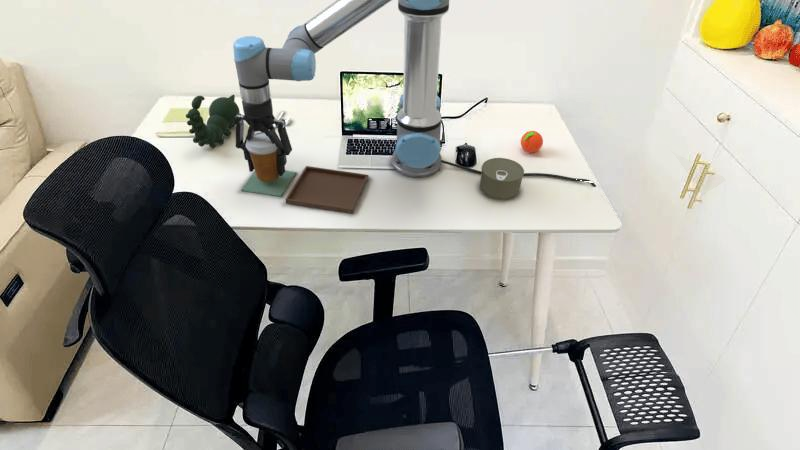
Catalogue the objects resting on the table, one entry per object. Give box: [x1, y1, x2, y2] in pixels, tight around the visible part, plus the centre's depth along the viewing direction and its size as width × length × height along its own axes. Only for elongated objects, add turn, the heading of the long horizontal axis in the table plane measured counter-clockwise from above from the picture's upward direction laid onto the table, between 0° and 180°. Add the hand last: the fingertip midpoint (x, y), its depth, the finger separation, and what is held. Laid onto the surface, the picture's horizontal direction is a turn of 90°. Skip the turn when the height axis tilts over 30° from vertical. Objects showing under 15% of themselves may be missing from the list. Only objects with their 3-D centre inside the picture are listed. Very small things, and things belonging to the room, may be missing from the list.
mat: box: [240, 170, 297, 198], centre depth 157 cm, size 12×12×1 cm
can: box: [479, 157, 525, 201], centre depth 155 cm, size 12×12×7 cm
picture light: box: [273, 111, 291, 129], centre depth 183 cm, size 14×4×2 cm, turn 173°
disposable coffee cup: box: [246, 131, 279, 182], centre depth 151 cm, size 10×10×12 cm
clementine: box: [520, 130, 544, 154], centre depth 172 cm, size 8×7×7 cm
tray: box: [285, 165, 369, 215], centre depth 154 cm, size 19×17×2 cm
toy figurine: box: [185, 94, 241, 149], centre depth 170 cm, size 9×19×25 cm
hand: (267, 171), depth 154 cm, fingers closed on disposable coffee cup, 8 cm apart
